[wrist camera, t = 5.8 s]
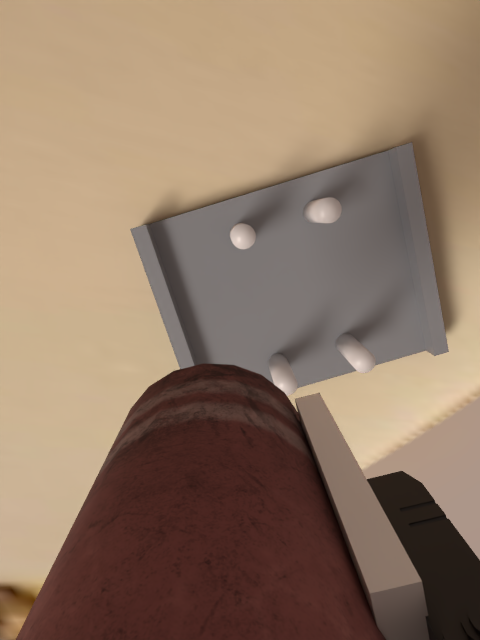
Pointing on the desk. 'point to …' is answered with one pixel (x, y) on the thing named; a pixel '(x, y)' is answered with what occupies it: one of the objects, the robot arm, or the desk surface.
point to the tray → (301, 275)
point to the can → (205, 527)
